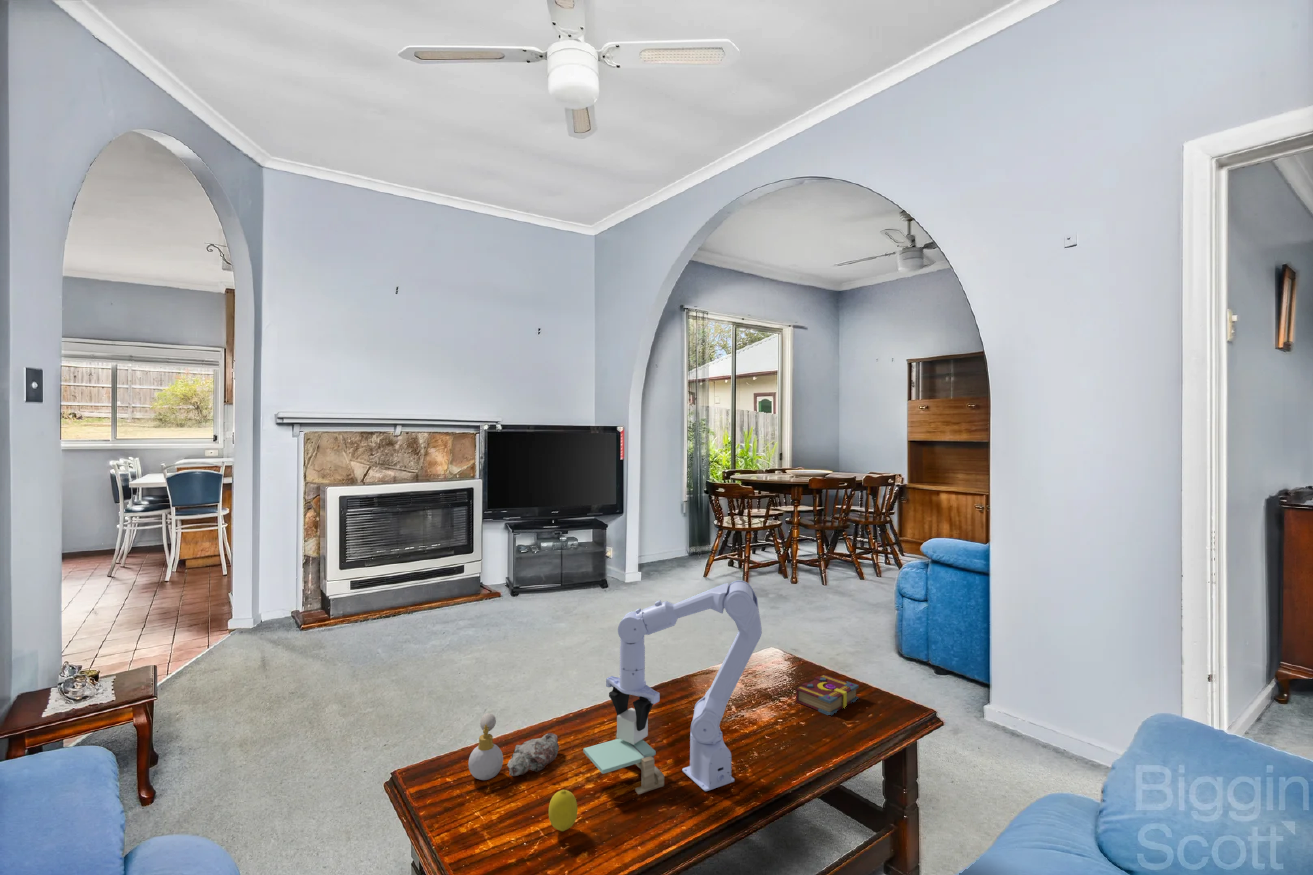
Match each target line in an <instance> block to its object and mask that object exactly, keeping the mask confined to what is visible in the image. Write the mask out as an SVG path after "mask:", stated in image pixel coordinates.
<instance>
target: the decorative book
mask: <svg viewBox="0 0 1313 875" xmlns="http://www.w3.org/2000/svg"><path fill="white" fill-rule="evenodd" d="M857 689H859V684H856V683H853V682H851V681H846V680H845V681H844V680H841V679H839V678H836V677H833V676H830V675H827V674H823V675H821V676H819V675H817V676H815V677H814V679H812V680H811V681H809V682H806V681H805V682H804V683H802V684H801V686H799V687H797V688H796V691H795V692H796V699H795V700H796V701H795V702H796V703H798V704H800V705H803V706H806V707H808V708H810V709H811V708H812V709H814V710H816V711H817V712H819V713H821V714H824V715H826V716H828V715H831V716H833V715H834V713H835V714H836V713H838V712H837V711H840V710H841V709H843V708H844V709H846V708H847V707H846V706H848V705H850V704H853V703H855V702H857V701H858V700H859V696H857ZM857 699H858V700H857ZM856 700H857V701H856ZM852 702H853V703H852ZM845 707H846V708H845Z"/></svg>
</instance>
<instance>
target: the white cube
mask: <svg viewBox="0 0 1313 875" xmlns="http://www.w3.org/2000/svg"><path fill="white" fill-rule="evenodd" d="M648 723H649V717H648V718H647V722H646V726H645V728H644V729H643V730H641V731H638V730H637V726H636V712H635V708H633V707H630V708H628V710H626V711H625V712H623V713H621V714H619V715H618V716H617V715H616V734H617V738H620V739H622V740H624V741H626V742H629V743H631V744H633V745H634V744H635V743H637V742H639V741H640V740H642V739H643V740H644V739H646V737H649V726H648V725H649V724H648Z"/></svg>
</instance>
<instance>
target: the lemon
mask: <svg viewBox="0 0 1313 875" xmlns="http://www.w3.org/2000/svg"><path fill="white" fill-rule="evenodd" d="M577 818H578V803H577V799H576V797H575V795H574V793H572V792H571V791H569V790H568V789H561V790H559V791H557V792H556V793H554V794H553V795H552V797H551V799H550V801H549V805H548V820H549V822H550V825H551V826H552V827H553V828H554V829H555V830H556V831H557V830H558V831H560V832H565V831H567V830H570V828H571V827H573V826H574V824H575V822H576V820H577Z"/></svg>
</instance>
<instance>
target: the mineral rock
mask: <svg viewBox="0 0 1313 875" xmlns="http://www.w3.org/2000/svg"><path fill="white" fill-rule="evenodd" d="M559 747H560V745H559V738H558V735H557V734H555V733H553V732H548V733H546V734H544V735H543V736H542V737H540V738H532V739H528V740H526V741H524V742H523V743H522V744H516V745H515V748H514V750H513V753H512V754H511V758H510V759H509V760H508V763H507V765H506V766H507V768H508V770H509V773H508V775H509V776H512V777H516V776H517V777H518V776H519V775H520V776H523V775H524V774H526V773H527V772H528V771H529V770H530V771H533V772H540V771H542V770H543V769H545V767H546V766H547V765H549V764H551V763H552V762H553V761H554V760H555V759H556V758H557V756H558V753H559V749H560V748H559Z"/></svg>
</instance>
